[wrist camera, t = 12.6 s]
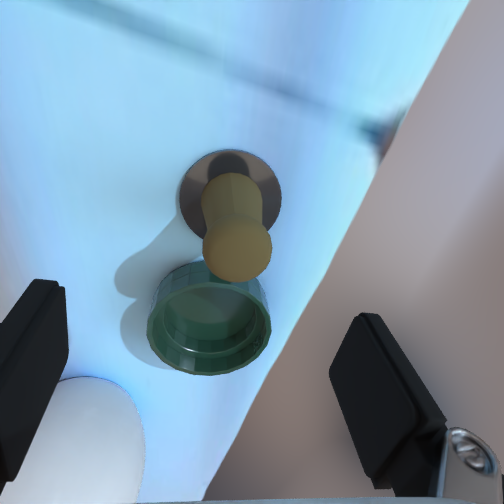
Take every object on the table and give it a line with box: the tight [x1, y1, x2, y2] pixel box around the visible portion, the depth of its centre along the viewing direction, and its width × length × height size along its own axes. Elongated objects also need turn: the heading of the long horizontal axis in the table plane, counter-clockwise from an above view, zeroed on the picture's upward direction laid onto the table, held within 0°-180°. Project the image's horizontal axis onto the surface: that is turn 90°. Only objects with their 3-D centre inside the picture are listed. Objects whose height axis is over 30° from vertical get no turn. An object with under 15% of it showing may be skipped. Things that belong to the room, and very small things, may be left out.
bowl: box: [147, 261, 271, 376], centre depth 38 cm, size 13×13×4 cm
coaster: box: [180, 150, 282, 239], centre depth 34 cm, size 10×10×1 cm
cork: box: [201, 173, 272, 283], centre depth 29 cm, size 6×6×11 cm
